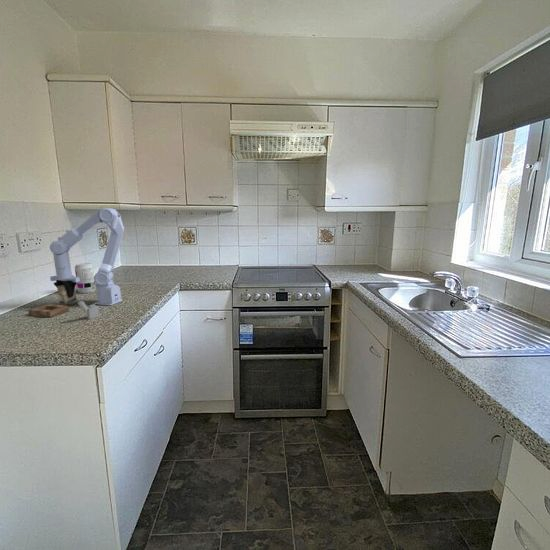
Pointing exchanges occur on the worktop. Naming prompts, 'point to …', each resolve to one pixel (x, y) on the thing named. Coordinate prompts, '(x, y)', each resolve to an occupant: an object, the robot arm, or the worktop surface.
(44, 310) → the holder
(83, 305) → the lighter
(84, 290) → the supplement can
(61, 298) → the peg
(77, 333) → the worktop surface
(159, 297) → the worktop surface
